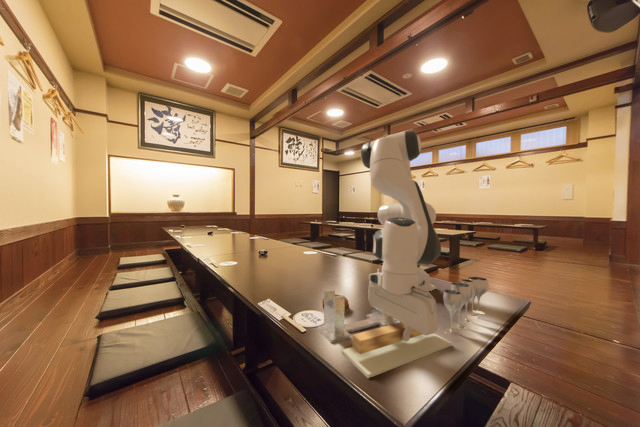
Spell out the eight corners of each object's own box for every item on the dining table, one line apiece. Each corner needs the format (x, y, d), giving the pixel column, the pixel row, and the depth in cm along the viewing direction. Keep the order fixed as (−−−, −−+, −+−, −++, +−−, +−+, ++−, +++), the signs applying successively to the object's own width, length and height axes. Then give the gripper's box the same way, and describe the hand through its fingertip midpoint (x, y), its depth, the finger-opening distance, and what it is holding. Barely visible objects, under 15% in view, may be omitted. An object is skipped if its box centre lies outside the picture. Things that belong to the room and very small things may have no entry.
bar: (427, 325, 69) (427, 314, 69) (436, 329, 66) (437, 319, 66) (352, 347, 57) (352, 334, 57) (360, 354, 54) (360, 341, 54)
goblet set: (458, 339, 68) (459, 291, 67) (437, 330, 72) (438, 286, 72) (490, 312, 85) (491, 275, 85) (472, 307, 90) (473, 272, 90)
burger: (336, 302, 93) (336, 290, 93) (354, 310, 86) (354, 297, 86) (316, 308, 87) (316, 296, 87) (333, 318, 79) (334, 304, 79)
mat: (420, 328, 73) (420, 326, 73) (451, 345, 64) (451, 342, 64) (341, 353, 60) (341, 350, 60) (367, 378, 51) (367, 374, 51)
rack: (380, 314, 82) (381, 280, 82) (397, 324, 75) (398, 287, 75) (317, 329, 71) (318, 290, 71) (331, 343, 64) (332, 300, 64)
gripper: (445, 292, 54) (443, 354, 54) (381, 271, 72) (380, 317, 72) (425, 296, 51) (424, 361, 51) (364, 273, 69) (363, 321, 69)
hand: (398, 335), depth 62 cm, fingers closed on bar, 3 cm apart
